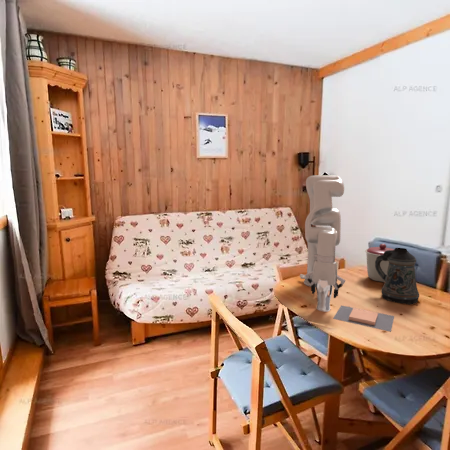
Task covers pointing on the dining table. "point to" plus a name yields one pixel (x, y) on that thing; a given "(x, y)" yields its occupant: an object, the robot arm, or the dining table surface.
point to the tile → (363, 316)
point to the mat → (381, 323)
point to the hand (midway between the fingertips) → (324, 295)
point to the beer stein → (398, 276)
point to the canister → (371, 258)
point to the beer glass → (323, 295)
